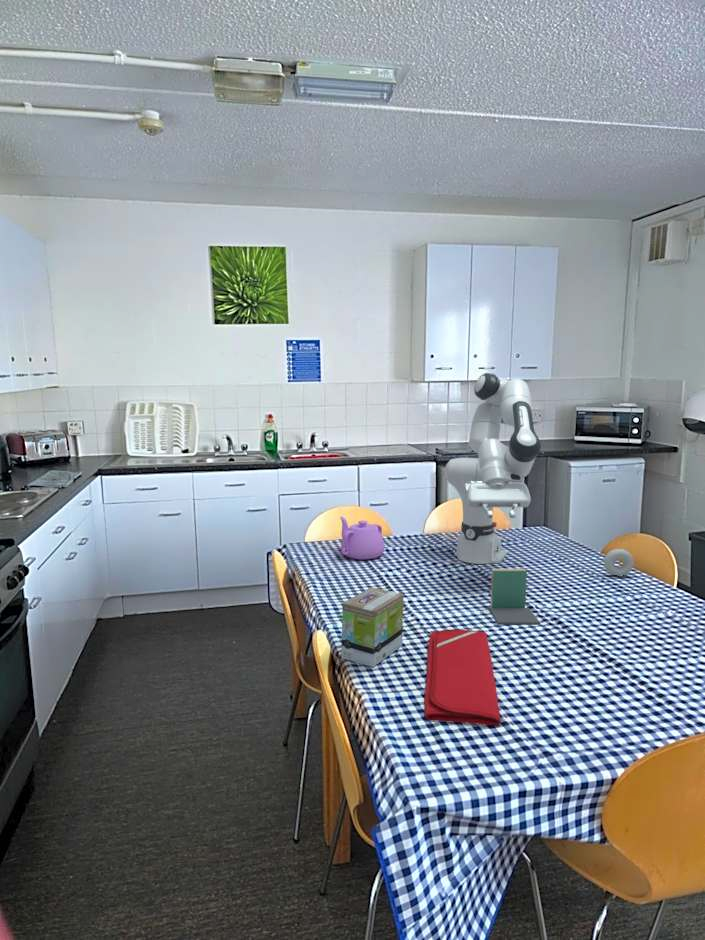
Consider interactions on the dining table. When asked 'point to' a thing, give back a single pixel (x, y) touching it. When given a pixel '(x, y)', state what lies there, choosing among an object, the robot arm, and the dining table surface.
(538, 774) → the dining table surface
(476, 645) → the dish drying mat
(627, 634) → the dining table surface
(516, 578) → the tile
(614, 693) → the dining table surface
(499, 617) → the mat
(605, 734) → the dining table surface
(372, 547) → the teapot
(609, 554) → the donut
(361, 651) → the tea box
